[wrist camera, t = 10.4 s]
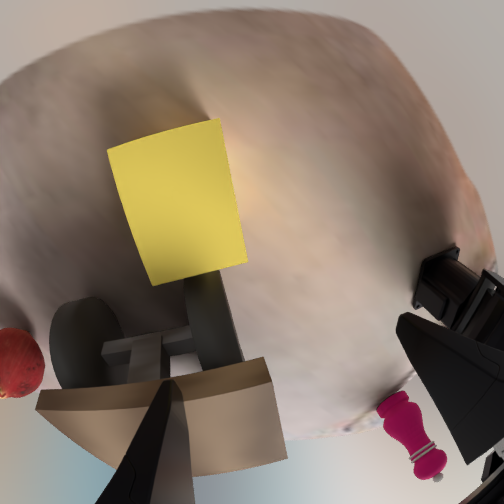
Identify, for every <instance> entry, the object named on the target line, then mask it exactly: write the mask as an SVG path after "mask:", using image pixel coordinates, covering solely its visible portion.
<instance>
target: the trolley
mask: <svg viewBox="0 0 504 504" xmlns="http://www.w3.org/2000/svg"><path fill="white" fill-rule="evenodd" d="M184 294H185V302H186V309H187V315H188V320H189V325H188V326H183V327H179V328H174V329H170V330H165V331H160V332H155V333H151V334H146V335H141V336H135V337H130V338H124V335H123V332H122V330H121V327H120V325H119V323H118V321H117V319H116V317H115V315H114V314H113V312H112V311H111V309H110V308H109V307H108V306H107V305H106V304H105V303H104V302H103V301H102V300H100V299H98V298H96V297H89V298H84V299H80V300H76V301H72V302H68V303H65V304H63V305H62V306H61V307H60V308H59V309H58V310H57V312H56V313H55V315H54V317H53V320H52V323H51V328H50V336H49V346H50V355H51V361H52V365H53V369H54V372H55V374H56V377H57V379H58V382H59V384H60V386H61V387H62V389H50V390H41V391H40V394H39V398H38V402H37V405H36V408H35V410H36V411H37V412H38V413H40V414H41V415H42V416H43V417H44V418H45V419H46V420H47V421H49V422H50V423H51V424H52V425H53V426H55V427H56V428H57V429H58V430H59V431H61V432H62V433H63V434H64V435H66V436H67V437H68V438H70V439H71V440H72V441H74V442H75V443H76V444H78V445H79V446H81V447H82V448H83V449H85V450H86V451H88V452H89V453H91V454H92V455H94V456H95V457H97V458H98V459H100V460H101V461H103V462H105V463H106V464H108V465H110V466H111V467H113V468H115V469H116V470H117V468H118V467H119V465H120V463H121V461H122V459H123V457H124V455H126V451H127V449H128V447H129V445H130V443H131V441H132V439H133V437H134V435H135V433H136V431H137V429H138V427H139V425H140V423H141V422H142V420H143V418H144V416H145V414H146V412H147V410H148V408H149V406H150V404H151V402H152V400H153V398H154V396H155V394H156V392H157V391H158V389H159V387H160V385H161V383H162V382H163V381H164V380H170V379H173V380H175V382H176V384H177V385H178V387H179V388H180V390H181V392H182V395H183V401H184V407H185V413H186V418H187V424H188V430H189V442H190V456H191V468H192V477H197V476H206V475H214V474H220V473H227V472H232V471H237V470H243V469H248V468H252V467H256V466H261V465H265V464H269V463H273V462H277V461H281V460H284V459H287V458H288V457H287V452H286V447H285V443H284V437H283V433H282V428H281V423H280V418H279V413H278V408H277V403H276V398H275V393H274V388H273V383H272V380H271V377H270V374H269V371H268V368H267V365H266V363H265V360H264V357H260V358H256V359H253V360H249V361H245V360H244V356H243V353H242V350H241V348H240V344H239V341H238V337H237V333H236V330H235V326H234V322H233V319H232V315H231V311H230V307H229V304H228V300H227V296H226V293H225V289H224V285H223V281H222V278H221V274H220V271H219V270H215V271H211V272H207V273H203V274H199V275H195V276H191V277H187V278H184ZM194 351H197V355H198V358H199V361H200V364H201V367H202V369H203V371H202V372H197V373H192V374H187V375H182V376H176V377H171V378H170V356H175V355H180V354H185V353H190V352H194Z"/></svg>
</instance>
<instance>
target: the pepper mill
mask: <svg viewBox="0 0 504 504" xmlns="http://www.w3.org/2000/svg"><path fill="white" fill-rule="evenodd" d="M408 400H409V397H408V395H407V394H406V392H405V391H399V392H397V393H395V394H393V395H391V396H390V397H388V398H387V399H386V400H385V401H383V402H382V403H381V404H380V405H379V407H378V408H377V412H378V414H379V416H380V417H381V418H385V419H384V424H383V427H384V430H385V431H386V432H387V433H388V434H389V435H390V436H391V437H393V438H394V439H396V440H398V441H399V442H401V443H402V444H403V445H404V446H405V447H406V449H407V450H408V452H409V454H410V457H409V459H411V463H415V466H414V474H415V476H416V477H417V478H419V479H421V480H426V479H430V478H432V477H433V481H434V482H439V481H441V480H442V478H443V474H442V473H440V472H441V471H442V470H443V468H444V467H445V465H446V462H447V456H446V454H445V452H444V451H443V450H439V449H436V448H435V447H436V446H437V445H435V443H434V441H432V442H431V441H430V439H429V438H428V436H427V435H426V433H425V431H424V427H423V420H422V414H421V410H420V408H419V406H418V405H417V404H416V403H413V402H408Z"/></svg>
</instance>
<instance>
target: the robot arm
mask: <svg viewBox="0 0 504 504" xmlns="http://www.w3.org/2000/svg"><path fill="white" fill-rule="evenodd" d="M459 252H460V248H458V247H457V246H456V247H453V248H451V249H449V250H446V251H444V252H441V253H439V254H437V255H434V256H432V257H429V258H427V259H425V260H424V261H423V262H422V266H421V272H420V277H419V281H418V286H417V291H416V295H415V299H414V303H413V308H414V309H415V310H417V309H419V308H421V307H424V308H425V309H426V310H427V311H428V312H429V313H431V314H432V315H433V316H434V317H435V318H436V319H437V320H438V321H440V320H441V321H442V322H443V323H444V324H445V325H446V326H447V327H448V328H449V329H447V328H445V327H443V326H440V325H438V324H436V323H433V322H431V321H429V320H426V319H424V318H422V317H419V316H417V315H415V314H412V313H410V312H406V313H403V314H401V315H400V316H399V318H398V322H397V326H396V334H397V336H398V338H399V340H400V342H401V344H402V346H403V348H404V350H405V352H406V355H407V357H408V359H409V361H410V362H411V364H412V366H413V367H414V369H415V371H416V372H417V374H418V376H419V377H420V379H421V381H422V382H423V384H424V385H425V387H426V389H427V391H428V392H429V394H430V396H431V397H432V399H433V401H434V403H435V405H436V406H437V408H438V410H439V412H440V414H441V415H442V417H443V419H444V421H445V423H446V425H447V427H448V429H449V430H450V432H451V435H452V436H453V438H454V440H455V442H456V444H457V446H458V448H459V450H460V452H461V455H462V457H463V458H464V461H465V463H466V464H467V465H469V464H470V463H471V462H473V461H474V460H476V459H477V458H478V457H480V456H481V455H483V454H484V453H485V452H487V451H488V450H489V449H491V448H492V447H494V450H493V451H492V452H491V453H490V455H488V456H487V457H486V461H485V465H484V470H483V474H482V478H481V480H482V482H483V483H482V484H481V485H480V486H479V487H478V488H477V489H476V490H475V491H473V492H472V493H471V494H470V495H469V496H468V497H466V498H465V499H464V500H463V501H461V502H460V503H459V504H504V278H502V277H501V276H499V275H498V274H496V273H494V272H492V271H489V270H486V269H483V271H482V273H481V274H482V275H481V277H480V276H478V275H477V274H476V273H474V272H473V271H472V270H470V269H469V268H467V267H466V266H465V265H463V264H462V263H461V262H459V261H458V256H459ZM495 286H497V288H496V290H494V288H495ZM95 504H195V498H194V488H193V479H192V468H191V456H190V442H189V430H188V424H187V418H186V413H185V407H184V401H183V395H182V392H181V390H180V388H179V387H178V385H177V384H176V382H175V380H173V379H170V380H164V381H163V382H162V383H161V385H160V387H159V389H158V391H157V392H156V394H155V396H154V398H153V400H152V402H151V404H150V406H149V408H148V410H147V412H146V414H145V416H144V418H143V420H142V422H141V423H140V425H139V427H138V429H137V431H136V433H135V435H134V437H133V439H132V441H131V443H130V445H129V447H128V449H127V451H126V455H124V457H123V459H122V461H121V463H120V465H119V467H118V468H117V470H116V472H115V474H114V475H113V477H112V479H111V480H110V482H109V483H108V485H107V486H106V488H105V489H104V491H103V492H102V494H101V495H100V497H99V498H98V500H97V501H96V503H95Z"/></svg>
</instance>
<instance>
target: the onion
mask: <svg viewBox="0 0 504 504" xmlns="http://www.w3.org/2000/svg"><path fill="white" fill-rule="evenodd" d="M44 369H45V362H44V357H43V355H42V352H41V350H40V348H39V346H38V344H37V342H36V341H35V340H34V339H33V337H32V336H31V334H30V333H29V332H28V331H26V330H20V329H17V328H4V329H1V330H0V399H5V398H8V397H14V398H18V397H19V398H20V397H23V396H26V395H28V394H30V393H32V392H33V391H35V390H36V389H37V388H38V387H39V385H40V384H41V382H42V379H43V374H44Z"/></svg>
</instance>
